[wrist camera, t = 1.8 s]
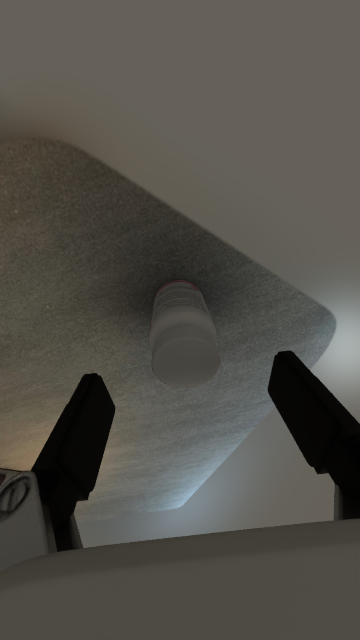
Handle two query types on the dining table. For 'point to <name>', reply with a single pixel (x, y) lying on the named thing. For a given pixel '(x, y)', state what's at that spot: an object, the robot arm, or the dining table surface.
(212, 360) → the pill bottle
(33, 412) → the dining table surface
